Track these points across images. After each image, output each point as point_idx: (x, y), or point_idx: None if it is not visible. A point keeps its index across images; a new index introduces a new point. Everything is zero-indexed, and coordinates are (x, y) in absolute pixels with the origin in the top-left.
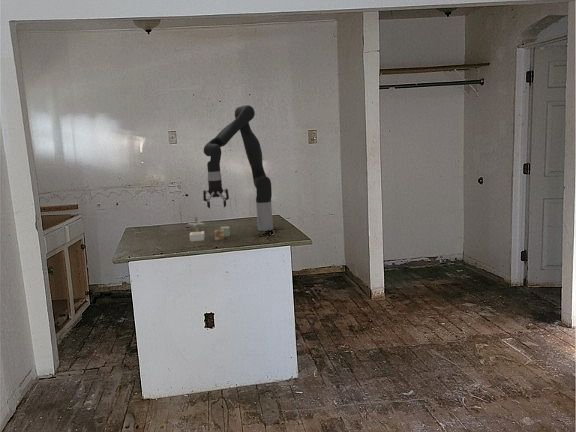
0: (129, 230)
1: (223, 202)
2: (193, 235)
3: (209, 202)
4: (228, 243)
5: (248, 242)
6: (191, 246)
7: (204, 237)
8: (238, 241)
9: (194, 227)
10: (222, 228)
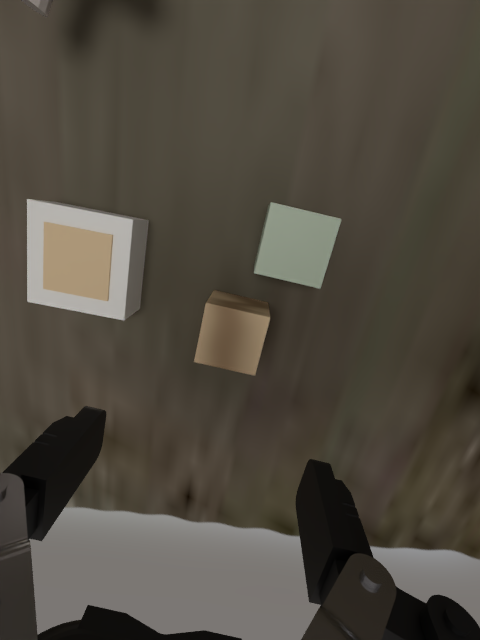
0: None
1: (305, 573)
2: (57, 306)
3: (47, 531)
4: (257, 454)
5: (355, 485)
6: None
7: (142, 257)
8: (316, 440)
9: (46, 14)
10: (269, 276)
